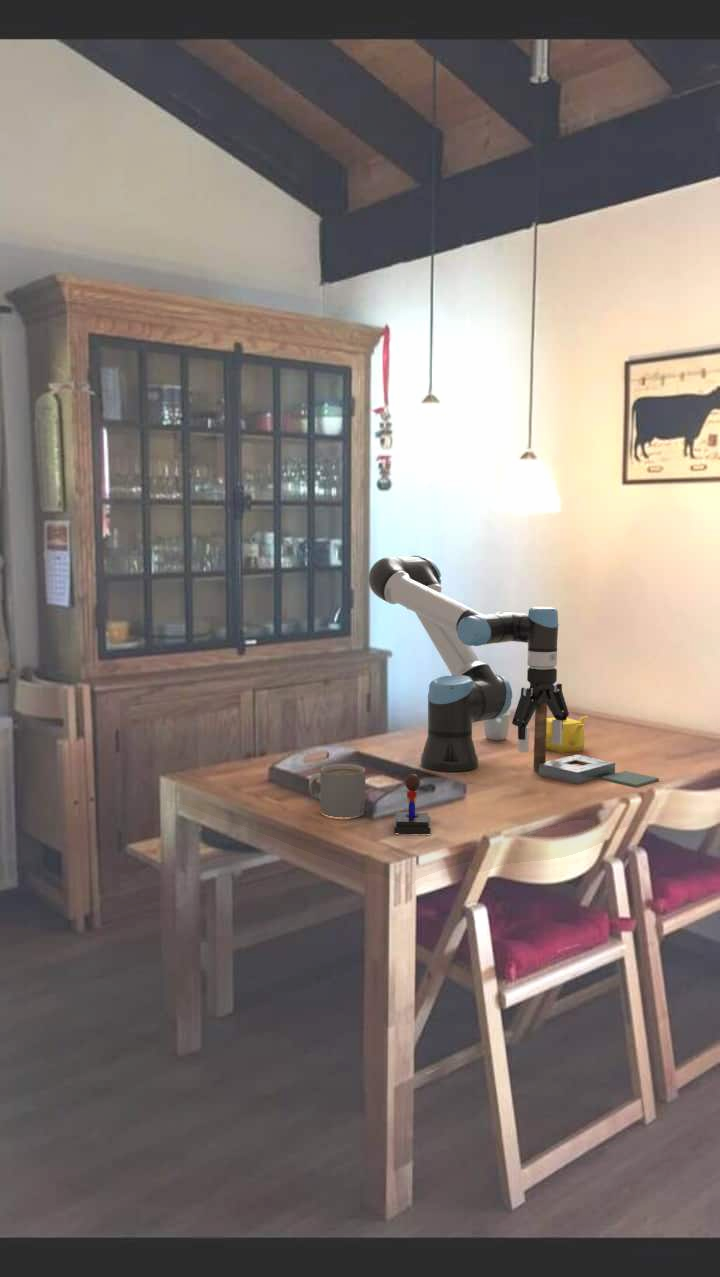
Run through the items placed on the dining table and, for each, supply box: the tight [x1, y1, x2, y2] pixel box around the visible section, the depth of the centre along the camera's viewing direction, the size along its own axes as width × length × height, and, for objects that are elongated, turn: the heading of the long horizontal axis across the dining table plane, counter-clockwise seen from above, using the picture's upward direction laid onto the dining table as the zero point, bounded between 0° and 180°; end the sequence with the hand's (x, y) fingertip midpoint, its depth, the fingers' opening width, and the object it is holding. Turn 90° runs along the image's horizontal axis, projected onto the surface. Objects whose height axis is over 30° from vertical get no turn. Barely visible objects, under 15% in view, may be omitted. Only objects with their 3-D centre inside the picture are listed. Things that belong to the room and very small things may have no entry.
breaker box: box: [538, 754, 616, 785], centre depth 267 cm, size 16×12×3 cm
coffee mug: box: [308, 763, 366, 818], centre depth 232 cm, size 13×10×10 cm
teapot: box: [546, 715, 589, 754], centre depth 298 cm, size 15×14×10 cm
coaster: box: [601, 770, 660, 788], centre depth 262 cm, size 10×10×1 cm
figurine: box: [393, 773, 431, 835], centre depth 219 cm, size 8×8×12 cm
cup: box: [483, 711, 511, 741], centre depth 308 cm, size 11×8×8 cm
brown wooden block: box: [533, 702, 548, 773], centre depth 270 cm, size 3×3×18 cm
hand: (540, 748), depth 271 cm, fingers open, 13 cm apart
